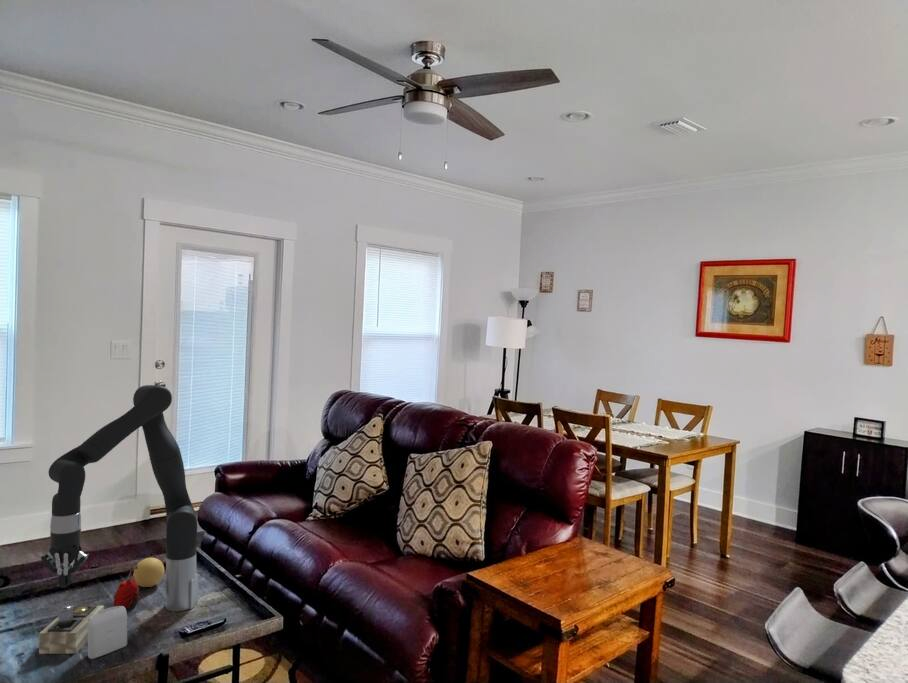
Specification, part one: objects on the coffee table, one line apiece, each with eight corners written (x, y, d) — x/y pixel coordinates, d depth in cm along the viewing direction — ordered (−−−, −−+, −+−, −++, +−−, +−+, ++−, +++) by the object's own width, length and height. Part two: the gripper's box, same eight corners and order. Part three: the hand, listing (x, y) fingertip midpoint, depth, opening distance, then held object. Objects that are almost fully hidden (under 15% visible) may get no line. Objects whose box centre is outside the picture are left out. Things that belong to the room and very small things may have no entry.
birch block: (103, 624, 188) (103, 603, 188) (75, 653, 172) (75, 631, 172) (70, 624, 188) (70, 603, 187) (39, 653, 172) (39, 631, 171)
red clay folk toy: (130, 599, 204) (131, 556, 204) (144, 604, 201) (144, 561, 200) (109, 609, 198) (109, 564, 197) (122, 614, 194) (123, 569, 194)
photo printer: (90, 661, 169) (90, 618, 168) (85, 655, 172) (85, 613, 171) (129, 646, 177) (129, 605, 176) (123, 640, 180) (123, 600, 179)
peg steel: (75, 623, 178) (75, 604, 177) (68, 630, 174) (68, 610, 174) (62, 623, 177) (62, 604, 177) (55, 630, 174) (55, 610, 173)
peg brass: (89, 625, 186) (89, 606, 186) (83, 631, 182) (83, 612, 182) (77, 625, 186) (77, 606, 185) (70, 631, 182) (70, 612, 182)
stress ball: (163, 591, 213) (173, 564, 220) (149, 578, 207) (160, 551, 214) (137, 593, 214) (148, 566, 222) (122, 580, 208) (134, 553, 215)
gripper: (96, 524, 179) (95, 581, 180) (50, 522, 179) (49, 580, 179) (82, 533, 172) (80, 592, 173) (34, 531, 171) (33, 591, 172)
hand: (64, 586), depth 176 cm, fingers closed
